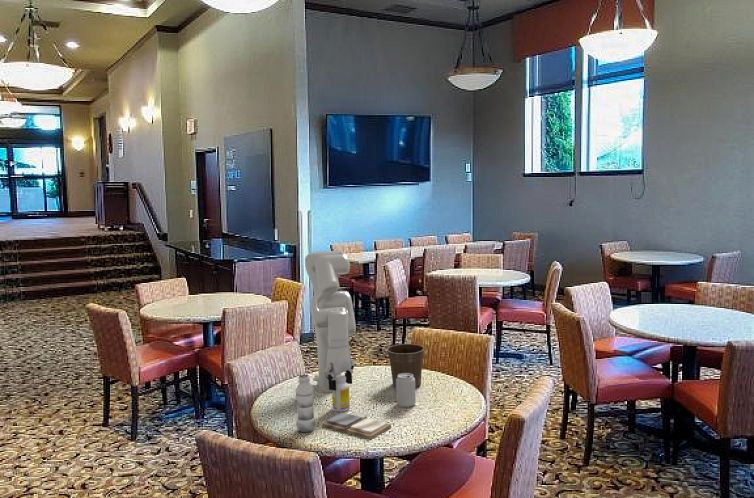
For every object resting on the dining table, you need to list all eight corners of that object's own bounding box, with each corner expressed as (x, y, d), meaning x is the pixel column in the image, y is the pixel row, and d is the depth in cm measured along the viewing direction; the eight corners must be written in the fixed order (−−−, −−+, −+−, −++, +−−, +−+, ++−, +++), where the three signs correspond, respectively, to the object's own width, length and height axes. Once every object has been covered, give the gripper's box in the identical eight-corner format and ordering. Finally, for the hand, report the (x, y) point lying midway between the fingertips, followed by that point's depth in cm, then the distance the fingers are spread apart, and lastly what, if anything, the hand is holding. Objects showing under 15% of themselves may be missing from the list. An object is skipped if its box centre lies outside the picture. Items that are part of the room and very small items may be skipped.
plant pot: (381, 382, 270) (380, 346, 269) (414, 376, 277) (413, 341, 275) (398, 393, 256) (397, 355, 254) (432, 387, 263) (431, 350, 261)
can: (414, 408, 238) (413, 378, 237) (395, 407, 240) (394, 377, 239) (417, 401, 246) (416, 372, 244) (398, 400, 247) (397, 371, 246)
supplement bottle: (352, 406, 242) (351, 375, 241) (346, 413, 236) (344, 380, 235) (336, 405, 245) (335, 373, 243) (330, 411, 238) (328, 379, 237)
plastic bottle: (297, 427, 223) (294, 374, 221) (316, 426, 224) (313, 372, 222) (296, 435, 217) (293, 379, 215) (315, 433, 217) (313, 378, 215)
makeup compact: (322, 426, 224) (322, 421, 224) (343, 415, 233) (343, 410, 233) (371, 439, 211) (370, 433, 211) (391, 427, 220) (390, 422, 220)
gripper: (345, 337, 247) (347, 379, 248) (316, 346, 233) (318, 391, 234) (360, 339, 242) (362, 382, 243) (331, 349, 228) (333, 394, 230)
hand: (340, 386), depth 239 cm, fingers open, 9 cm apart
